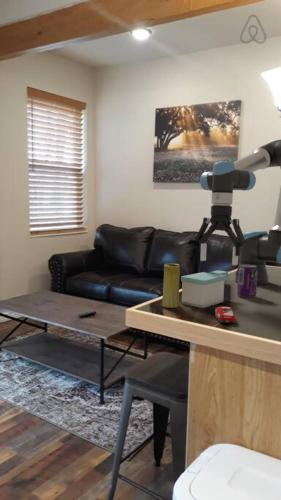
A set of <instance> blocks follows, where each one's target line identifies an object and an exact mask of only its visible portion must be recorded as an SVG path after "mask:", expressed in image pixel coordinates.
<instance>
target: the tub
mask: <svg viewBox="0 0 281 500" xmlns="http://www.w3.org/2000/svg"><path fill="white" fill-rule="evenodd" d="M181 284H182V285H181V304H183V305H187V306H190V307H191V306H192V307H197V308H201V309H206V308H208V307H211V305H212V306H214V305H217V304H220V303H221V304H222V303H224V295H225V294H224V292H225V280H224V281H220V282H216V283H212V284H208V285H200V284H194V283H189V282H183V281H181Z"/></svg>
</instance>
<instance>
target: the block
mask: <svg viewBox="0 0 281 500" xmlns="http://www.w3.org/2000/svg"><path fill="white" fill-rule="evenodd" d="M228 278H229V272H228V271H225V270H219V269H218V270H213V271H209V272H206V271H204V272H203V271H202V272H198V273H192V274H187V275H183V276H182V275H181V276H180V282H182V281H183V282H189V283H194V284H200V285H208V284H212V283H216V282H220V281H224V282H225V281H226V280H227V279H228Z"/></svg>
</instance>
